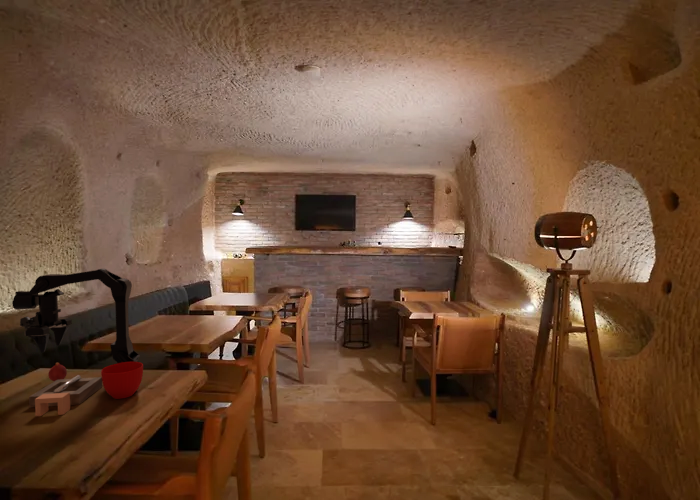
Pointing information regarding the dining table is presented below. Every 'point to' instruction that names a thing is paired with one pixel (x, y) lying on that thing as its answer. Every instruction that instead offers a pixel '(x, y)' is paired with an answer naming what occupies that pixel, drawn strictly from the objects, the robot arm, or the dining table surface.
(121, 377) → the red bowl
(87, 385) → the grey flat frame
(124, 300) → the robot arm
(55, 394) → the orange arch block
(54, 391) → the hook rod
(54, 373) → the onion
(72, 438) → the dining table surface
